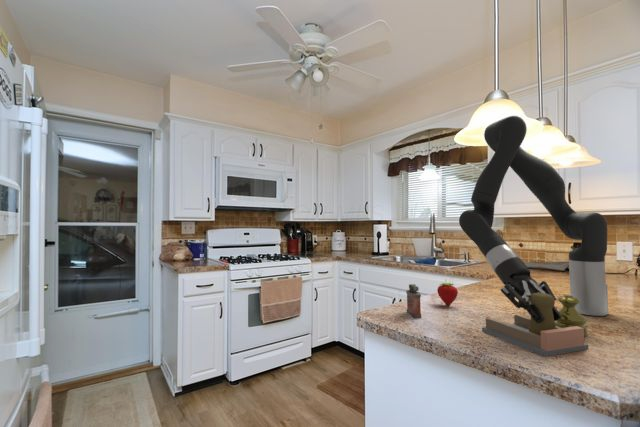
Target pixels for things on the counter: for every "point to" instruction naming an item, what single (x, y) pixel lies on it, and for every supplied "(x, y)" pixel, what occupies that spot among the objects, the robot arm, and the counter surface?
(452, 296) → the strawberry
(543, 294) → the cork
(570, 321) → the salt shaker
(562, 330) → the guide track
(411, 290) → the lighter
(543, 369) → the counter surface
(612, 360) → the counter surface
